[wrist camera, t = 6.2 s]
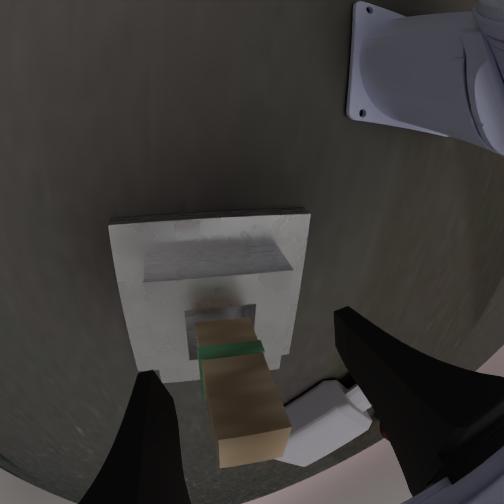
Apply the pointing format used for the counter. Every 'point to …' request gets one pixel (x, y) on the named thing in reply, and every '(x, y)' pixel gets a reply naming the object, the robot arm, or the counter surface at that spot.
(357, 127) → the counter surface
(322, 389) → the charger
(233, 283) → the stand
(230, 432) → the post
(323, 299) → the counter surface
